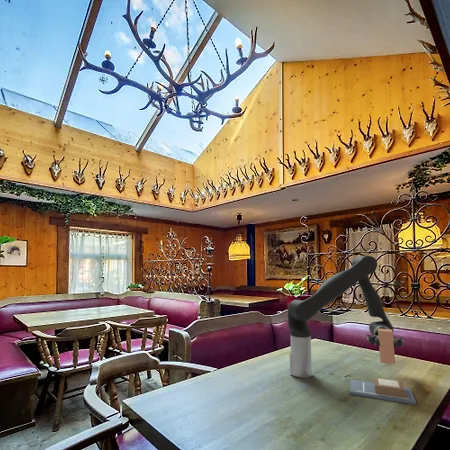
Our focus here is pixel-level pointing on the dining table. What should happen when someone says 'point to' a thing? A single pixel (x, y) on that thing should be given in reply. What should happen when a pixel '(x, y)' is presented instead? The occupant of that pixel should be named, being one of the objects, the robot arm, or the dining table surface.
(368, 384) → the blueprint board
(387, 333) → the terracotta pillar
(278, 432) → the dining table surface
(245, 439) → the dining table surface
